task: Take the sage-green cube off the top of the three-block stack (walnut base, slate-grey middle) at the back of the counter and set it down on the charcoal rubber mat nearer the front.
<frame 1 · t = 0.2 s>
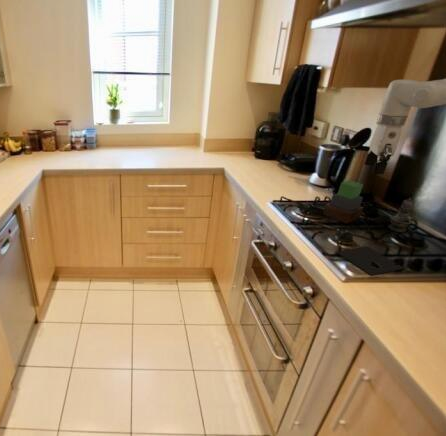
hand: (373, 169, 113), 19 cm above the worktop, tool pointing down, fingers open, 9 cm apart
middle block: (344, 205, 120), point 4 cm above the worktop, touching base block, green cube
base block: (341, 216, 122), on the worktop, touching middle block
green cube: (347, 195, 118), point 8 cm above the worktop, touching middle block
mat: (368, 260, 96), on the worktop
salt shaker: (396, 228, 113), on the worktop
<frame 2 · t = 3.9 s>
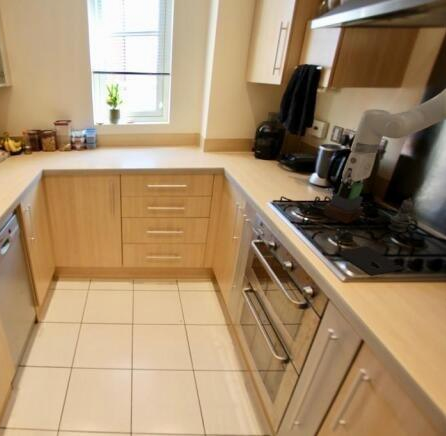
hand: (348, 194, 118), 9 cm above the worktop, tool pointing down, fingers closed on green cube, 5 cm apart
green cube: (347, 195, 118), point 8 cm above the worktop, touching gripper, middle block
everything else where it was.
when the fingers open (1 cm above the worktop, at t = 13.3 s): green cube stays where it is, resting on mat.
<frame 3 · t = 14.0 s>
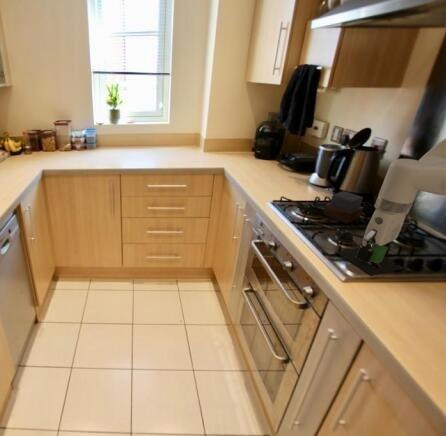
hand: (371, 255, 95), 2 cm above the worktop, tool pointing down, fingers open, 9 cm apart
middle block: (344, 205, 120), point 4 cm above the worktop, touching base block
green cube: (368, 259, 96), resting on mat
everything else where it was.
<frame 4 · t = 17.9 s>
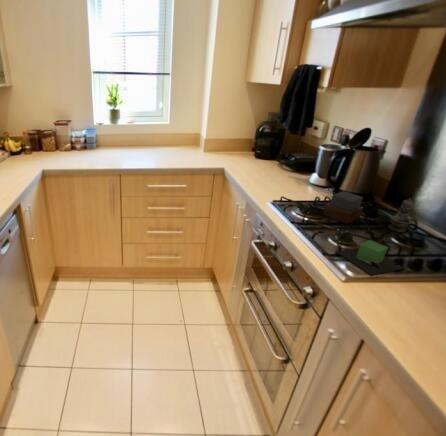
nothing on the worktop moved.
at the end: green cube inside the target area on the mat (0.1 cm from its centre), point 0.4 cm above the mat's base; green cube tilted 0°; middle block moved 0.0 cm from its start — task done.
